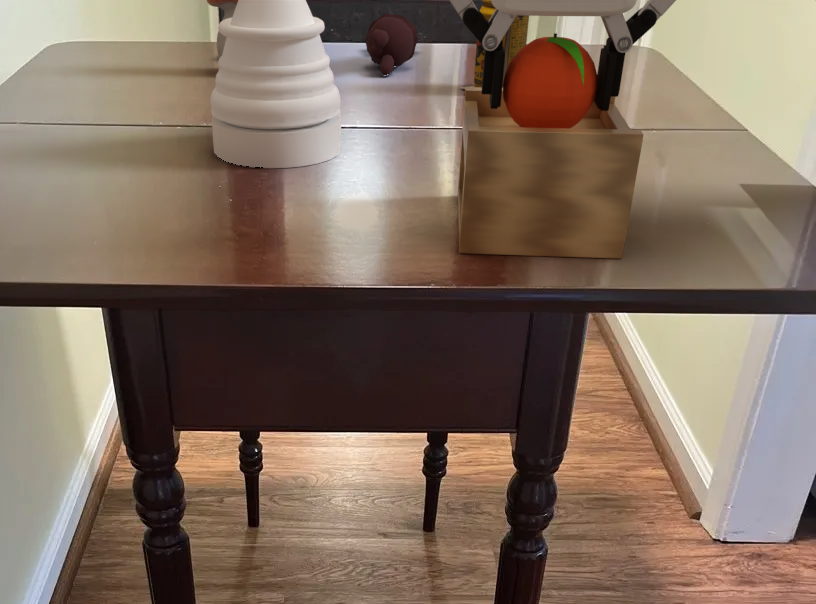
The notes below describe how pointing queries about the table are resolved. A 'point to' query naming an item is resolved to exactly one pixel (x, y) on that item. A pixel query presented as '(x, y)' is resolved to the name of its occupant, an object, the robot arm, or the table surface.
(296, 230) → the table surface
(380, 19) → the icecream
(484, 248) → the wooden box
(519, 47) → the yellow drink can
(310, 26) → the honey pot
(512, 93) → the clementine
